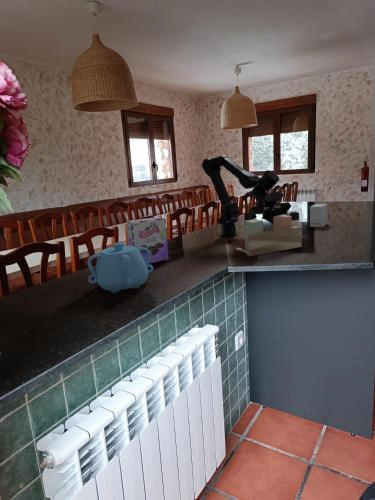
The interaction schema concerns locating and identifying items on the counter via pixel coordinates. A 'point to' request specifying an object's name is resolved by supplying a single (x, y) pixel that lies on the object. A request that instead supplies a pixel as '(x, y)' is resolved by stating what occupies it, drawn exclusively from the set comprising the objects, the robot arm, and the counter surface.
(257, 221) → the sage block
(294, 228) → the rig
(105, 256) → the decorative pot
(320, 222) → the skincare box
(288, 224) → the terracotta block
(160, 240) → the candy box
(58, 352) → the counter surface
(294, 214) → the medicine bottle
